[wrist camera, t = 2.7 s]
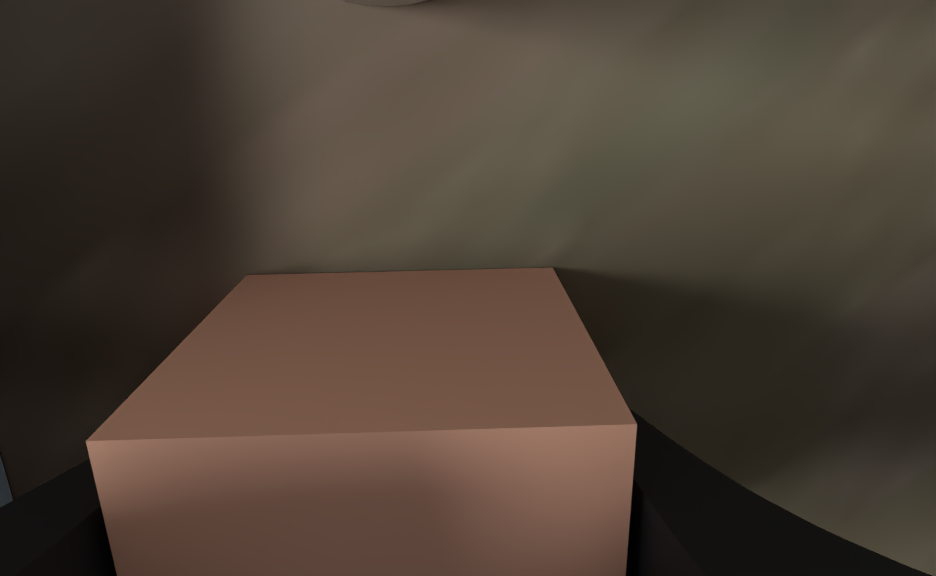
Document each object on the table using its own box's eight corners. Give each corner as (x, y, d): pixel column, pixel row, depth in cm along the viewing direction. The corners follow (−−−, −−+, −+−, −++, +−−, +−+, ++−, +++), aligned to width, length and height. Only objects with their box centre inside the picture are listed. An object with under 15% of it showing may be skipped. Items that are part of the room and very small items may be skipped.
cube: (546, 520, 12) (607, 801, 8) (280, 529, 12) (174, 821, 7) (552, 267, 11) (636, 423, 6) (247, 275, 11) (85, 441, 6)
